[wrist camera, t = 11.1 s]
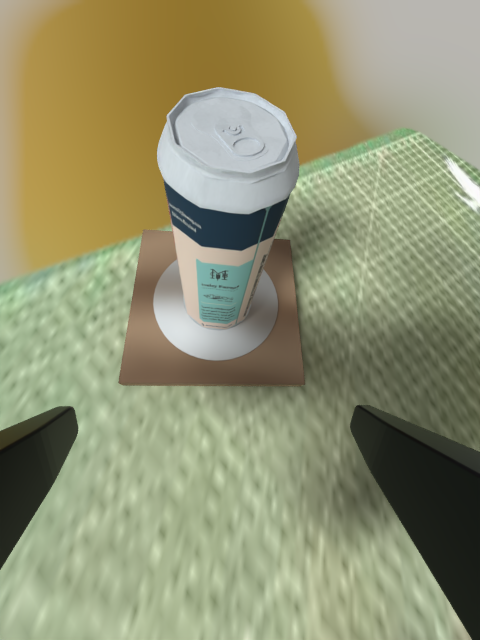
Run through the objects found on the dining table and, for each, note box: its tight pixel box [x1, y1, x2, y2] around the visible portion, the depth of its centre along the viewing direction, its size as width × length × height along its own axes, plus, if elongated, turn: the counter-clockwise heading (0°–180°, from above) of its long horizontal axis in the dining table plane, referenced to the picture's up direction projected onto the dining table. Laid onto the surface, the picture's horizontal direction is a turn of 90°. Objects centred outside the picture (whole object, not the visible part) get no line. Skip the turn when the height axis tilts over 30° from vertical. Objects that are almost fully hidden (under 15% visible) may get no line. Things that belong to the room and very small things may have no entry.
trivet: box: [119, 230, 305, 386], centre depth 20 cm, size 12×12×1 cm
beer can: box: [157, 87, 299, 330], centre depth 13 cm, size 5×5×12 cm
